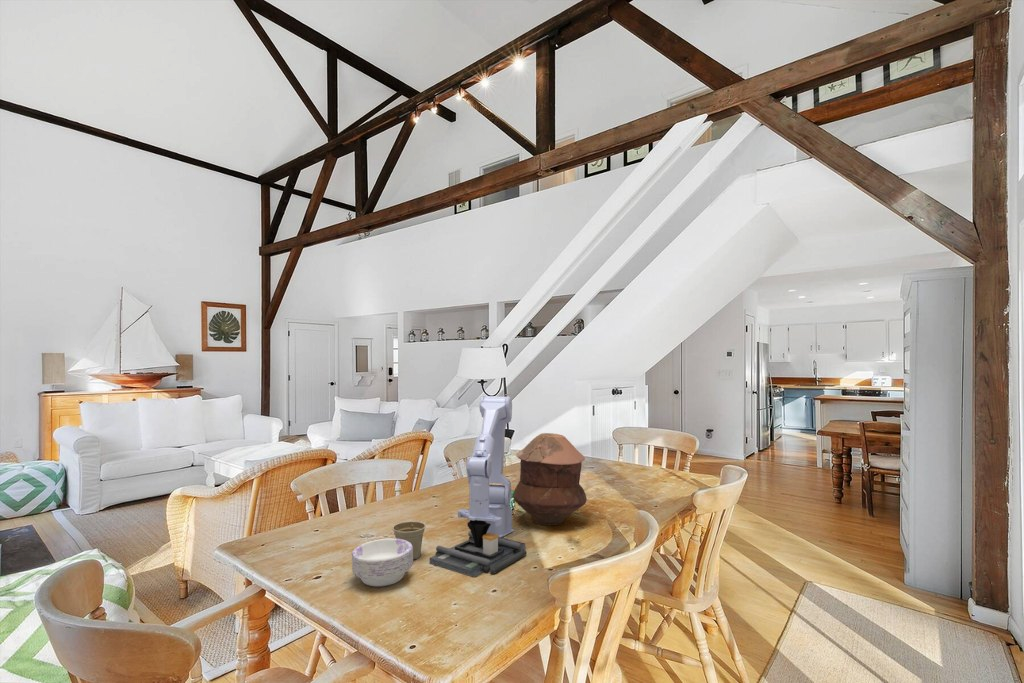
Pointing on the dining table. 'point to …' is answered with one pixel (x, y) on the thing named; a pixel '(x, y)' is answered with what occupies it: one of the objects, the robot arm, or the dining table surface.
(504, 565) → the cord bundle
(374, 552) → the paper bowls
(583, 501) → the pottery vessel
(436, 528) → the dining table surface
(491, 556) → the breaker panel
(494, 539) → the breaker lever
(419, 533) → the flower pot
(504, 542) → the dark grey bar
